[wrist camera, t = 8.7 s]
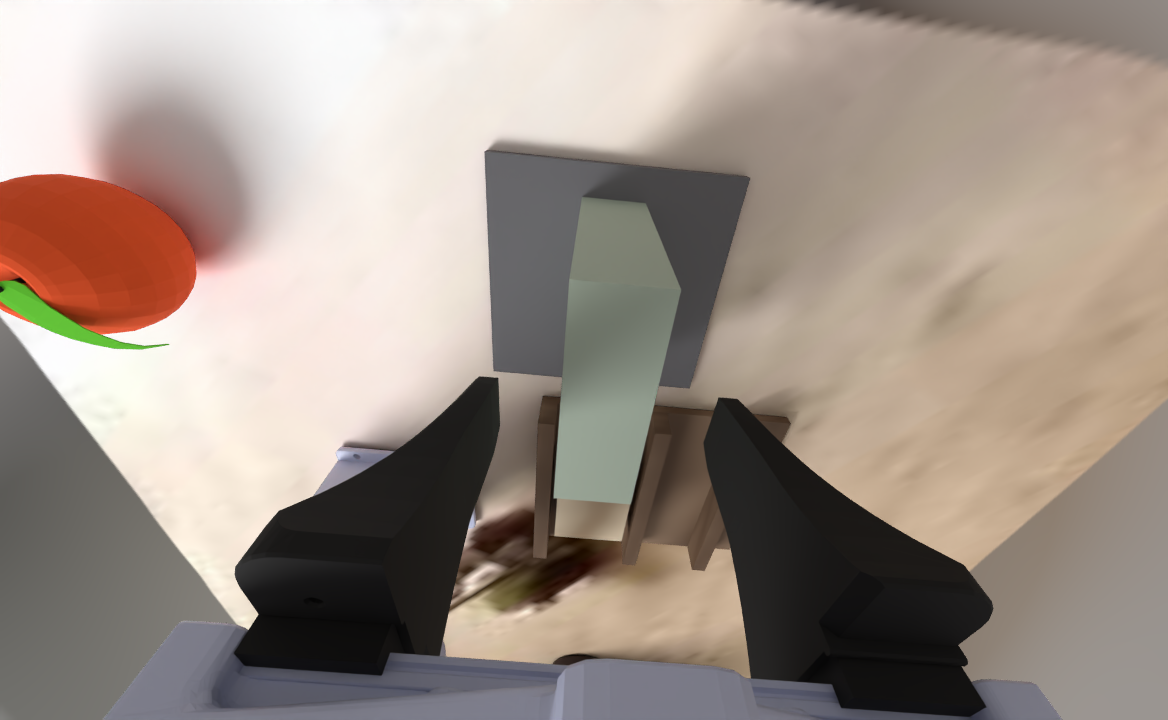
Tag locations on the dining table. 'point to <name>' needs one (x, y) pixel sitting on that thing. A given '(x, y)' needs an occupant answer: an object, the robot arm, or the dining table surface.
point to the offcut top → (590, 519)
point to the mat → (547, 238)
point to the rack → (652, 484)
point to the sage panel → (612, 349)
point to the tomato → (89, 258)
